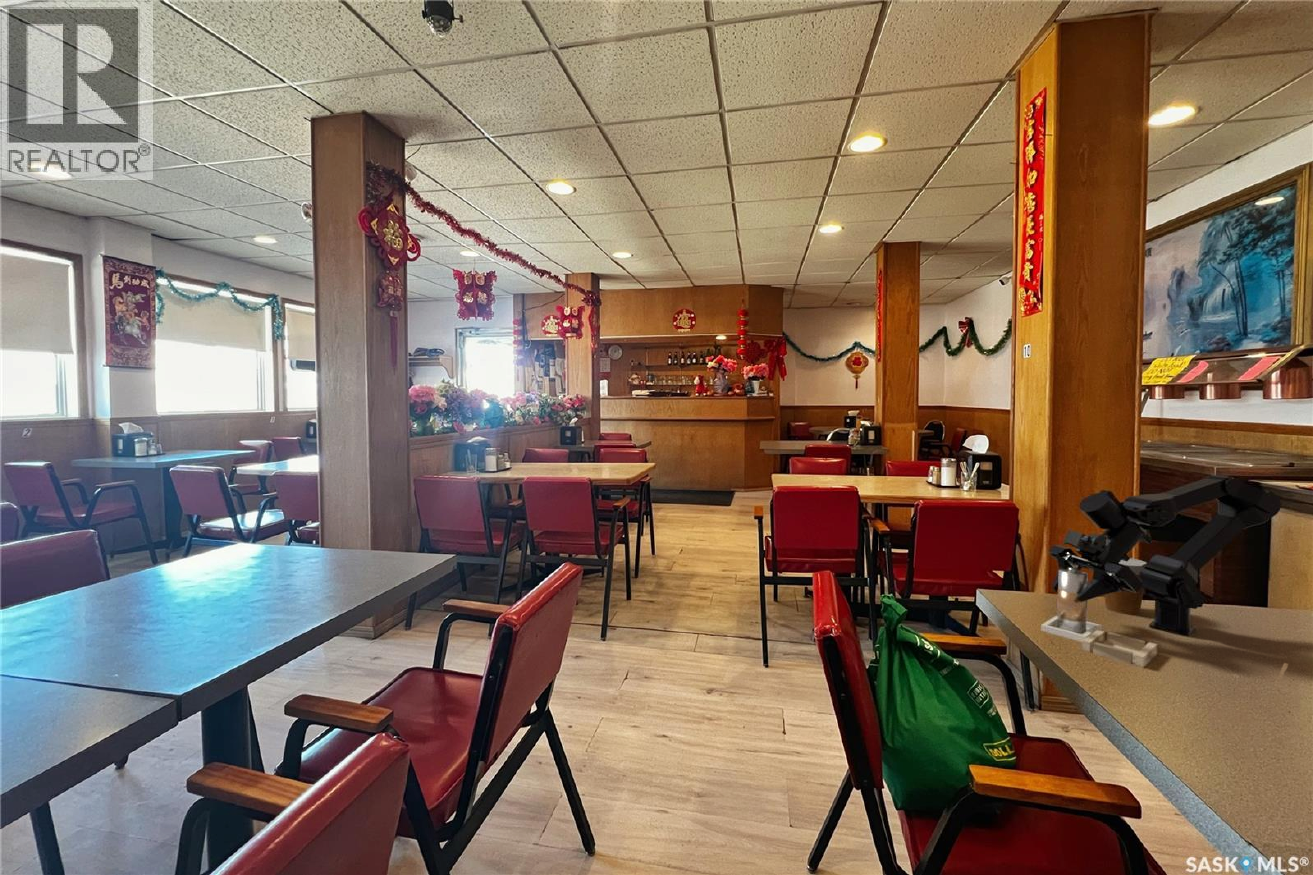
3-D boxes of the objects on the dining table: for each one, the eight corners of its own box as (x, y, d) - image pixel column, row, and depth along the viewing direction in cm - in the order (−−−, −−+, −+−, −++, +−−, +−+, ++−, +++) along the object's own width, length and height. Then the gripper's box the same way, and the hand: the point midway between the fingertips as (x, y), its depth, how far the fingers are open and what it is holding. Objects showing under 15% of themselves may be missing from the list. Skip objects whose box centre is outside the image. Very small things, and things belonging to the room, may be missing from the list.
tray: (1058, 622, 126) (1058, 614, 126) (1101, 633, 119) (1101, 625, 119) (1040, 633, 120) (1041, 625, 120) (1085, 645, 113) (1085, 636, 113)
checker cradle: (1097, 640, 116) (1098, 629, 115) (1156, 656, 108) (1157, 644, 108) (1082, 652, 110) (1082, 640, 110) (1143, 670, 102) (1143, 657, 102)
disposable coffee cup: (1088, 602, 138) (1089, 555, 138) (1130, 603, 137) (1131, 556, 136) (1114, 616, 129) (1115, 566, 128) (1159, 617, 127) (1161, 566, 127)
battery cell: (1070, 625, 123) (1072, 565, 123) (1092, 633, 118) (1094, 571, 118) (1050, 625, 122) (1052, 565, 122) (1072, 634, 117) (1073, 571, 117)
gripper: (1056, 510, 128) (1010, 558, 128) (1130, 527, 109) (1077, 583, 109) (1087, 542, 129) (1042, 590, 129) (1166, 564, 110) (1113, 620, 110)
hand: (1065, 595), depth 119 cm, fingers open, 6 cm apart
